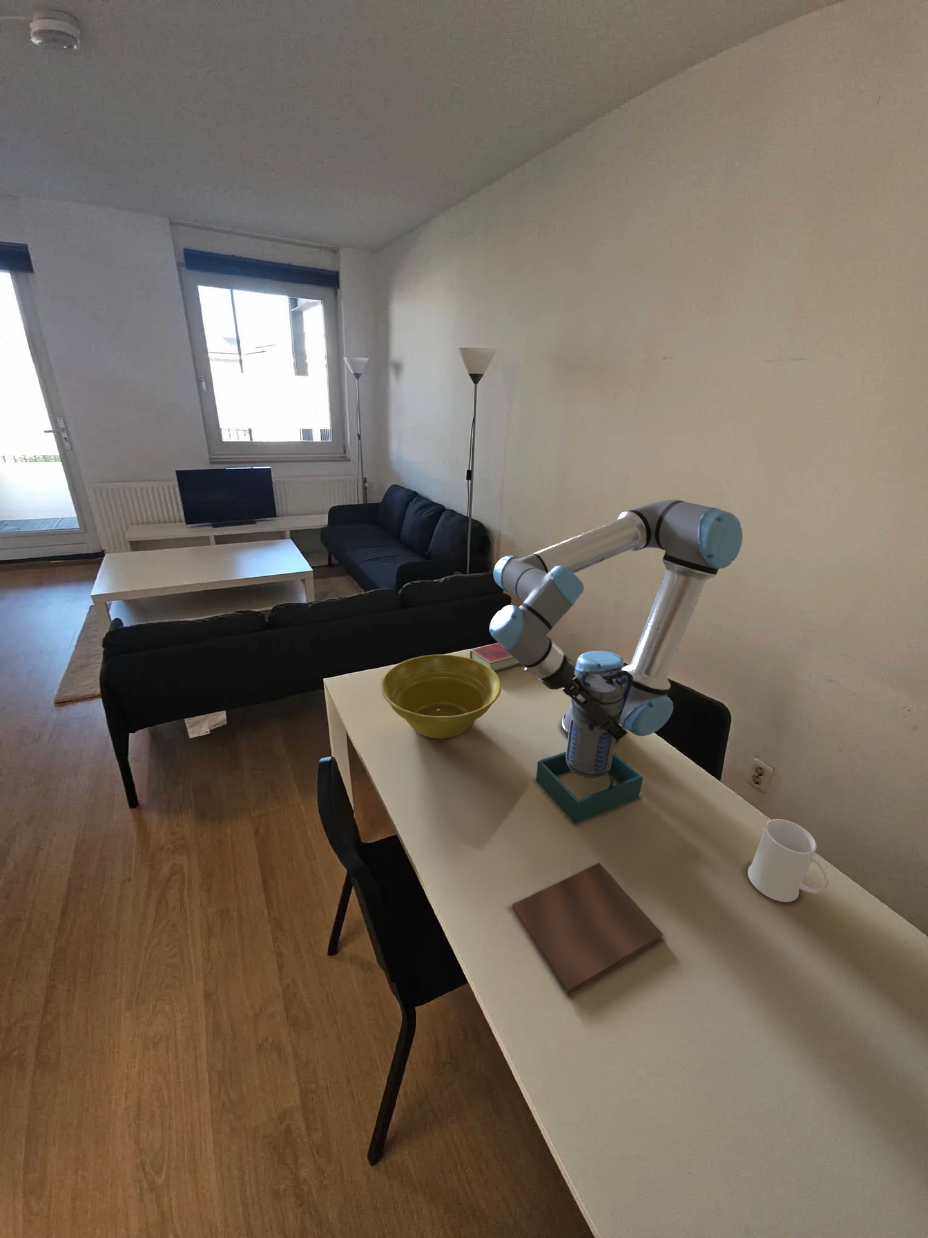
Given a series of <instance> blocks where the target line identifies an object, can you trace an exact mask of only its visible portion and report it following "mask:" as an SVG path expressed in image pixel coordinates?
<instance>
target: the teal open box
mask: <svg viewBox="0 0 928 1238" xmlns="http://www.w3.org/2000/svg"><path fill="white" fill-rule="evenodd" d="M570 772H572V771H571V770H570V768H569V767H568V765H567V763H566V751H563V752H560V753H557V754H555V755H552V756H549V757H546V758H543V759H540V760H537V767H536V774H535V782H536V783H537V785H538V786H539V787H540V788H541V789H542V790H543V791H544V792H545V793H546V794H547V796H548V797H549V798H550V799H551V800H552V801H553V802H554V804H556V805H557V806H558V808H559V809H560V810H561V811H562V812H563V813H564V814H565V815H566V816H567V817H568V819H569V820H570V821H571V822H572V823H573V824H574V825H577V824H580V823H582V822H584V821H587V820H589V819H591V818H594V817H596V816H599V815H601V814H603V813H605V812H608V811H610V810H613V809H615V808H617V807H620V806H622V805H625V804H627V803H630V802H631V801H634V800H637V799H639V798H640V794H641V790H642V785H643V781H644V776H643V775H642V774H640V773H639V772H638V771H637V770H635V769H634V767H632V766H631V765H630V764H629V763H627V762H626V761H625V760H623V759H622V758H621V757H620V756H619V755H617V754H616V753H615V752H614V753H613V758H612V764H611V769H610V771H609V772H608V773H607V774H608V775H609V776H611V777H610V780H609V786H608V787H606V788H604V789H601V790H599V791H596V792H594V793H592V794H589V795H586V796H584V797H581V798H578V797H577V796H576V795H575V794H574V792H572V791H571V790H570V788H568V786H567V785H565V783H563V781H561V779H560V778H558V777H559V776H562V775H565V774H567V773H570ZM615 781H616V782H617V784H615Z"/></svg>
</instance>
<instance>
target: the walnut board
mask: <svg viewBox="0 0 928 1238" xmlns="http://www.w3.org/2000/svg"><path fill="white" fill-rule="evenodd" d="M511 909H512V911H513V912H514V914H515V915H516V917H517V918H518V920H519V922H520V923H521V925H522V926H523V928H524V929H525V931H526V933H527V935H528V937H530V939H531V941H532V942H533V943H534V945H535V947H536V948H537V950H538V952H539V953H540V954H541V957H543V959H544V960H545V962H546V963H547V966H548V967H549V969H550V970H551V971H552V973H553V974H554V977H556V979H557V981H558V982H559V984H560V985H561V987H562V989H563V990H564V992H565V993H566V995H567V996H569V995H571V994H573V993H574V992H576V991H577V990H579V989H581V988H583V987H585V986H586V985H588V984H590V983H591V982H593V981H595V980H596V979H598V978H599V977H601V976H603V975H604V974H606V973H608V972H610V971H611V970H613V969H614V968H616V967H617V966H619V965H621V964H622V963H624V962H626V961H628V960H629V959H631V958H633V957H634V956H636V955H638V954H639V953H641V952H642V951H644V950H646V949H648V948H649V947H651V946H652V945H655V944H656V943H657V942H659V941H661V940H662V939H663V936H664V934H663V933H662V931H661V930H660V929H659V928H658V927H657V926H656V924H655V923H654V922H653V921H652V920H651V919H650V918H649V917H648V916H647V915H646V913H645V912H644V911H643V910H642V908H640V906H638V904H637V903H636V902H635V901H634V900H633V898H631V897H630V895H629V894H628V893H627V892H626V891H625V890H624V889H623V887H622V886H621V885H620V884H619V883H618V882H617V880H615V878H614V877H613V876H612V874H610V873H609V872H608V871H607V869H606V868H605V867H604V866H603V864H601V863H600V862H598V863H596V864H594V865H591V866H590V867H588V868H586V869H583V870H581V871H579V872H577V873H575V874H573V875H571V876H568V877H566V878H564V879H562V880H559V881H558V882H556V883H554V884H552V885H549V886H548V887H545V888H544V889H541V890H539V891H537V892H534V893H532V894H530V895H528V896H526V897H524V898H522V899H520V900H518V901H515V902H514V903H512V905H511Z"/></svg>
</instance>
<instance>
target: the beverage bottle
mask: <svg viewBox="0 0 928 1238" xmlns="http://www.w3.org/2000/svg"><path fill="white" fill-rule="evenodd" d="M589 672H590V671H585V672H580V674H579V675H578V677H577V678H578V679H579V680H580V682H581V684H582V685H583V686H584V687H585V688H586V689H587V690H588V692H589V696H590V697H591V698H592V699H593V700H594V701H595V702H596V703H597V704H598V705H599V706H600V707H601V708H602V709H603V710H604V711H605V712H606V713H607V714H608V715H610V716H611V717H612V718H613V719H614V720H615V721H616V722H617V723H618V724H619V721H620V717H621V714H622V711H623V708H624V706H625V703H626V700H627V697H628V694H629V692H630V689H631V686H632V681H633V676H632V675H631V674H630V673H629V672H627V671H626V670H618V671H614V672H613V673H611V674H602V675H597V674H591V675H589ZM614 679H615V680H614ZM622 685H623V686H622ZM582 691H584V690H583V689H582ZM574 697H575V696H574ZM573 702H574V700H573ZM619 725H620V724H619ZM598 726H599V724H598V723H597V722H596V721H595V720H594V719H593V718H592V717H591V716H590V715H589V714H588V713H587V712H586V711H585V710H584V709H583V708H582V707H581V706H580V705H578V704H577V703H576V702H574V706H573V708H572V712H571V720H570V728H569V735H568V737H567V744H566V751H565V752H566V763H567V765H568V767H569V768H570V770H571V771H570V772H571V773H572V774H575V775H576V776H578V777H580V778H581V777H582V778H584V779H588V780H597V779H601V778H603V777H605V776H606V775H607V774H608V772H609V771H610V769H611V764H612V758H613V753H615V747H616V742H617V743H620V742H619V741H617V740H616V739H615V738H614V737H613V736H612V735H611V734H610V733H609V732H608V731H605V730H603V729H602V728H601V729H599V728H598Z"/></svg>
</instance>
